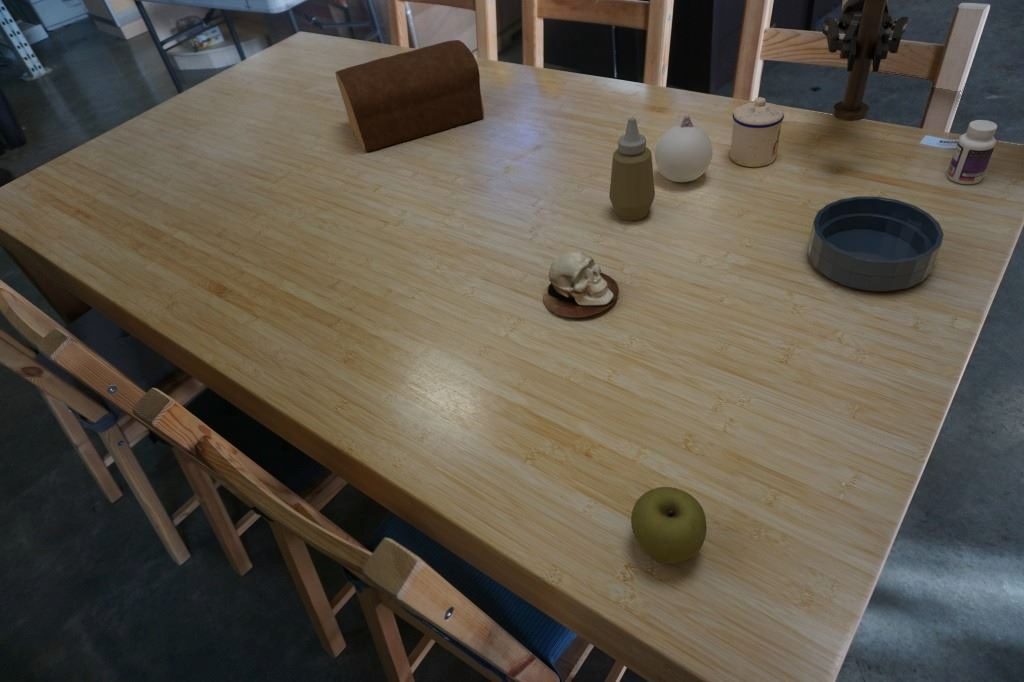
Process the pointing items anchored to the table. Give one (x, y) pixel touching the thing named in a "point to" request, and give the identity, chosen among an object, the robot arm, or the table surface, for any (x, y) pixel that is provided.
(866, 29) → the stirrer
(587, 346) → the table surface
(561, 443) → the table surface
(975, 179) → the pill bottle
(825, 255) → the bowl
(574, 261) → the skull
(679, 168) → the ornament
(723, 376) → the table surface
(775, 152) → the teacup with lid
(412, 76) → the bread
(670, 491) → the apple
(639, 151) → the squeeze bottle
